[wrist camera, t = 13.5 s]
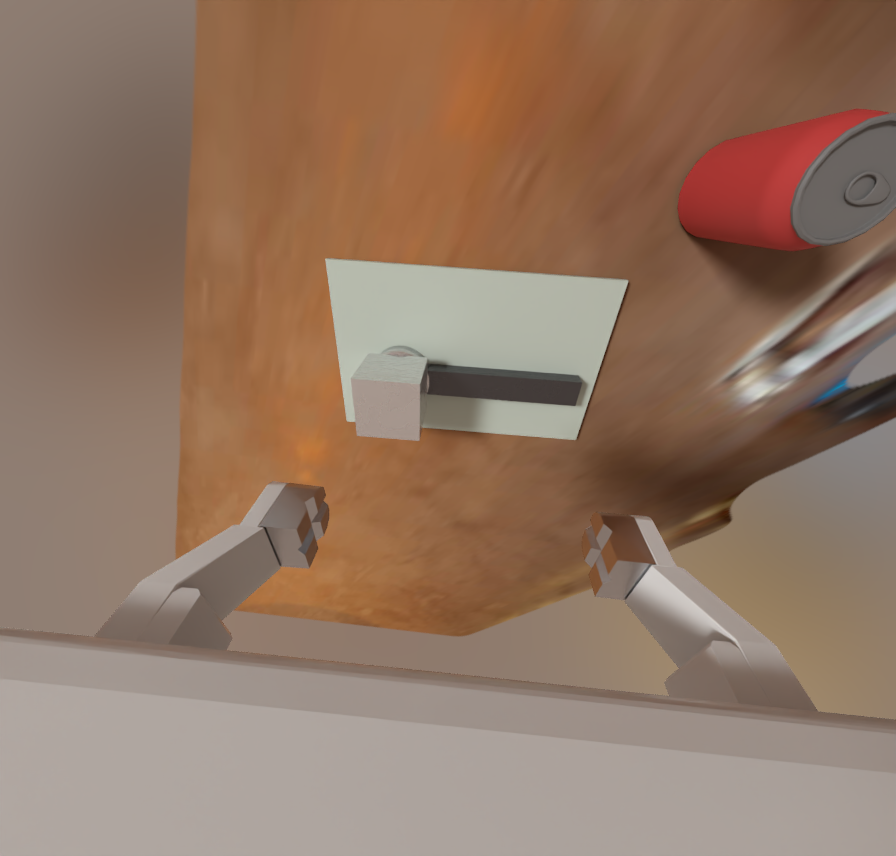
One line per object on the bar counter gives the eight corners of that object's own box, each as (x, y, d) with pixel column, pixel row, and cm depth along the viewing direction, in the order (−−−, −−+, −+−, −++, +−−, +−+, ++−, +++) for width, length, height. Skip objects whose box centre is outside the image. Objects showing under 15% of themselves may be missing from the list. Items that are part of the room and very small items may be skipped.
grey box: (368, 352, 34) (350, 378, 29) (427, 357, 34) (420, 384, 29) (372, 404, 37) (357, 435, 32) (426, 408, 37) (419, 440, 32)
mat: (327, 258, 32) (325, 259, 31) (626, 279, 31) (628, 280, 31) (348, 418, 42) (346, 421, 41) (574, 437, 41) (575, 439, 41)
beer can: (725, 247, 30) (854, 270, 20) (657, 224, 29) (754, 236, 19) (786, 153, 26) (982, 123, 16) (709, 125, 25) (863, 75, 15)
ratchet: (371, 343, 36) (357, 362, 31) (582, 359, 35) (598, 381, 31) (375, 396, 39) (363, 420, 35) (567, 411, 39) (578, 438, 35)
